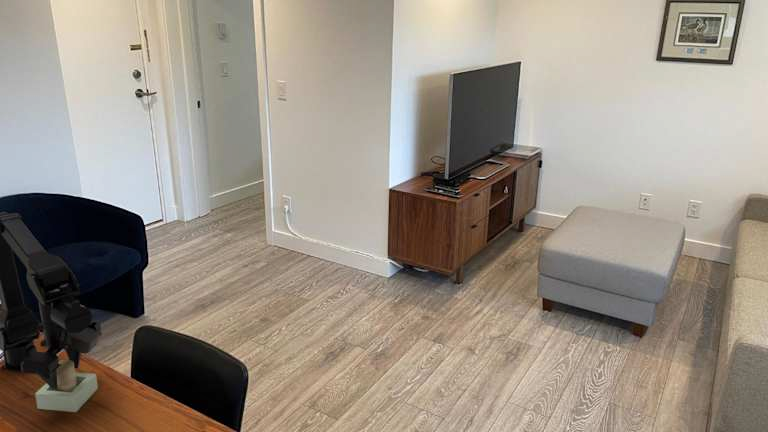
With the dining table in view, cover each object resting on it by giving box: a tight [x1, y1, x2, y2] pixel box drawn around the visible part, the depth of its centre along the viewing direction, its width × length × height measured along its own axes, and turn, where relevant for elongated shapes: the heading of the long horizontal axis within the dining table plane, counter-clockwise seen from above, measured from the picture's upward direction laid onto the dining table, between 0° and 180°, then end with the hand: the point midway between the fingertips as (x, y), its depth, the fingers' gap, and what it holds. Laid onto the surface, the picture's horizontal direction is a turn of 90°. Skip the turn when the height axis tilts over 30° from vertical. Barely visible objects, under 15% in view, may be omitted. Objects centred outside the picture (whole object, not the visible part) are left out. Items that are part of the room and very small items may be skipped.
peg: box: [57, 359, 77, 392], centre depth 133 cm, size 4×4×9 cm
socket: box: [34, 371, 99, 413], centre depth 134 cm, size 9×9×4 cm
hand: (65, 377), depth 133 cm, fingers open, 8 cm apart
